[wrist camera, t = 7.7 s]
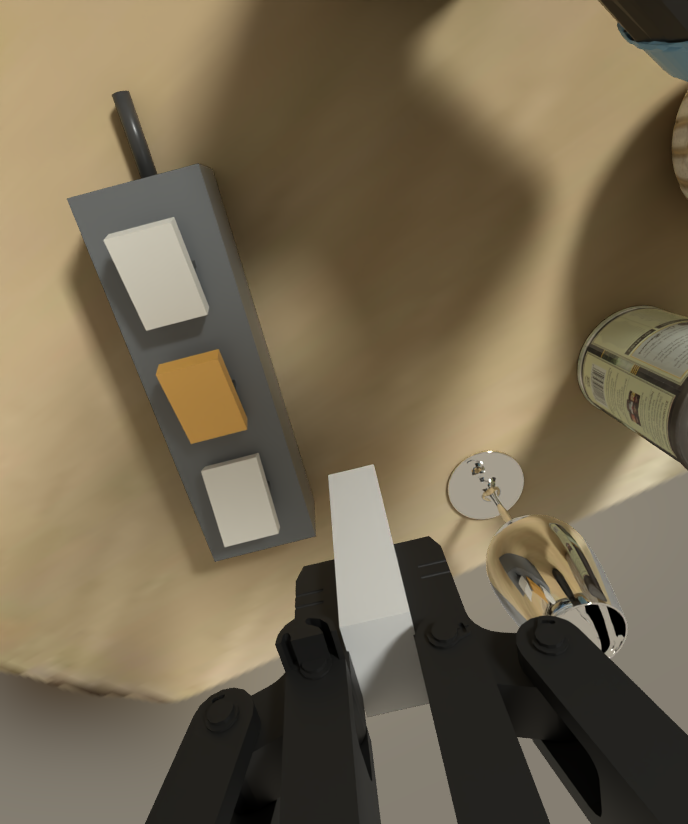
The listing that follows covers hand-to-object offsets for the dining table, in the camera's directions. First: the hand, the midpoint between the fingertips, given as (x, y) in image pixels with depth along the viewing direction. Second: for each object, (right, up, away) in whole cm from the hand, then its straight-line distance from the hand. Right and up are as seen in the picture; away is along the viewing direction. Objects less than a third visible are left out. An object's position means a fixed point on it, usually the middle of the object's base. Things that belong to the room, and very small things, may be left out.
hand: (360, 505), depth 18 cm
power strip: (-12, +10, +28) cm, 32 cm away
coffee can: (+26, +8, +32) cm, 42 cm away
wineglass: (+13, -4, +35) cm, 38 cm away
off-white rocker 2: (-9, -4, +25) cm, 27 cm away
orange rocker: (-11, +4, +22) cm, 25 cm away
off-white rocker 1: (-13, +12, +19) cm, 26 cm away
